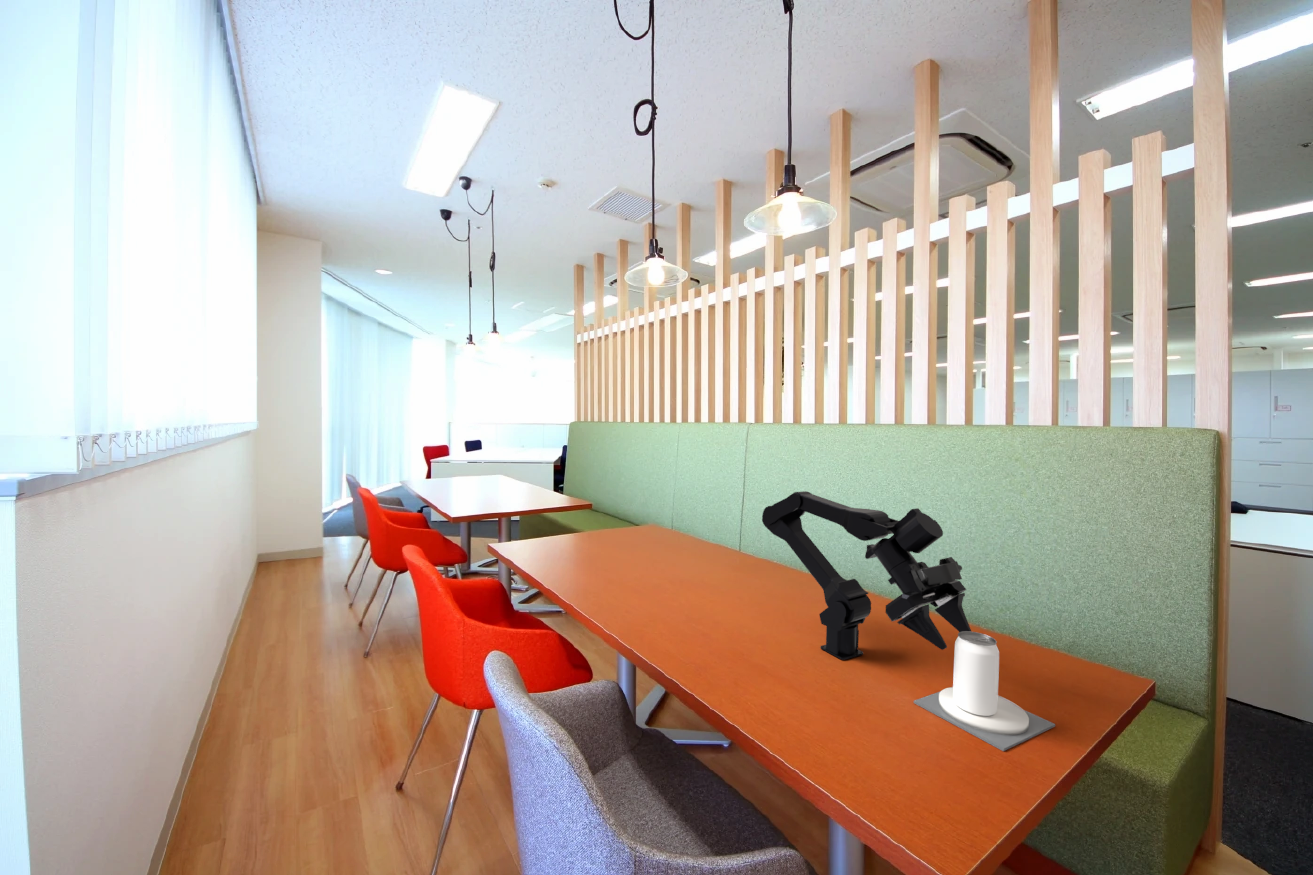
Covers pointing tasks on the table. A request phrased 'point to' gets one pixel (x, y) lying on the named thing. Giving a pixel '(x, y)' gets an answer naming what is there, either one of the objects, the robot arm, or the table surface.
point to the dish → (988, 720)
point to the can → (976, 673)
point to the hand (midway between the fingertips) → (958, 642)
